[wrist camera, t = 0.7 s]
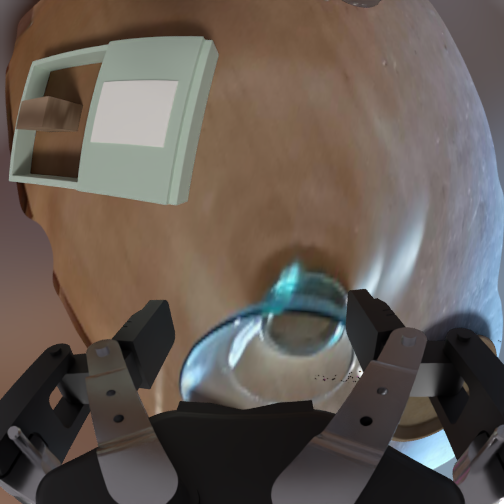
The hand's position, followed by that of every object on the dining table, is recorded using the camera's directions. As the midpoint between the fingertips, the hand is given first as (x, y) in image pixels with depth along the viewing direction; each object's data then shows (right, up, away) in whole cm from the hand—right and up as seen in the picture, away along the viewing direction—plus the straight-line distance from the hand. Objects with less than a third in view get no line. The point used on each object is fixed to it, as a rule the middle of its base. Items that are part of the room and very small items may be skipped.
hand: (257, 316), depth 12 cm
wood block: (-31, +25, +23) cm, 46 cm away
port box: (-24, +23, +23) cm, 40 cm away
